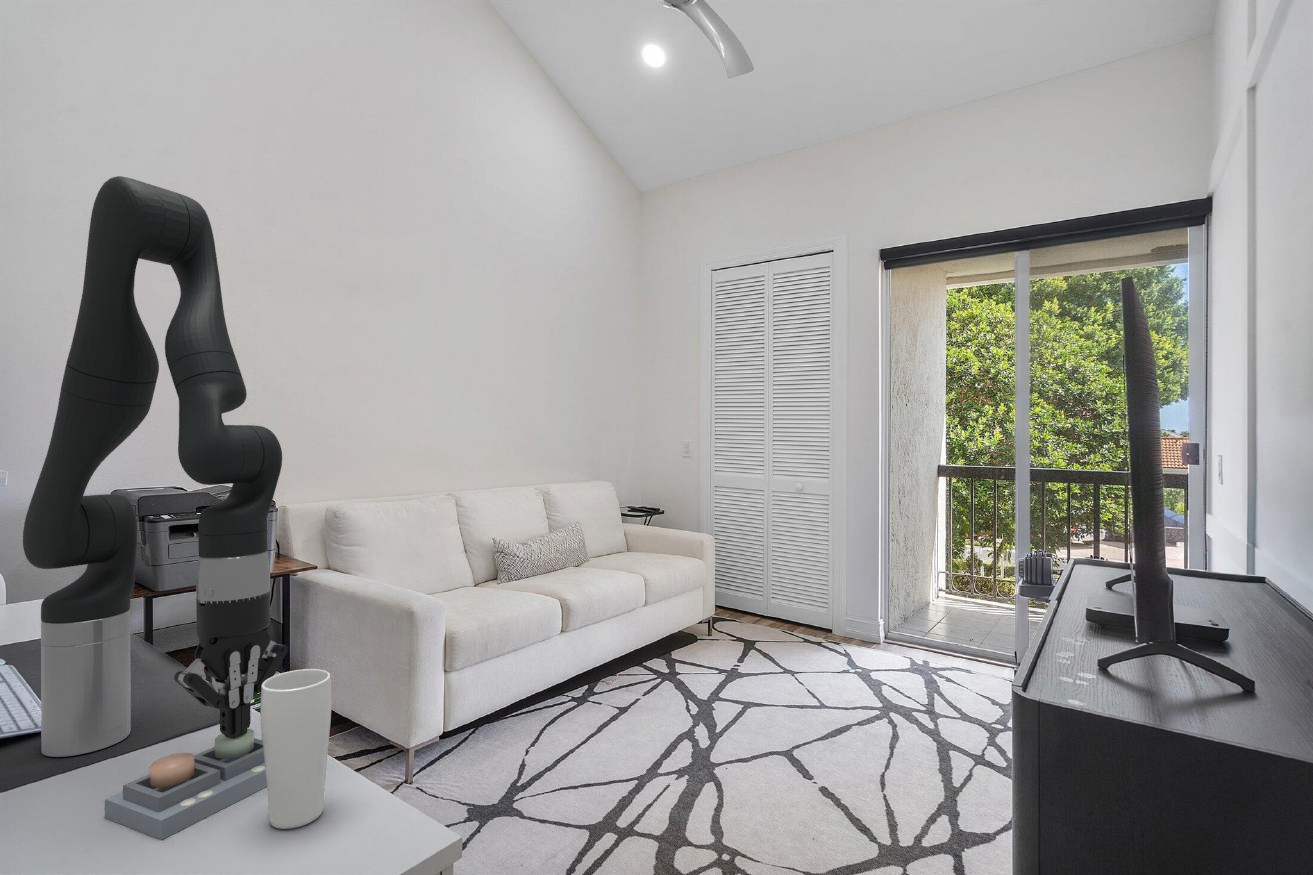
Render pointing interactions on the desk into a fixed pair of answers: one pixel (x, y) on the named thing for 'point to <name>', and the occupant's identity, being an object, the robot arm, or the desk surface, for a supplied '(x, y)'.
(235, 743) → the button one
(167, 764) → the button two
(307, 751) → the drinking glass
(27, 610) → the desk surface
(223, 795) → the two-button control panel
